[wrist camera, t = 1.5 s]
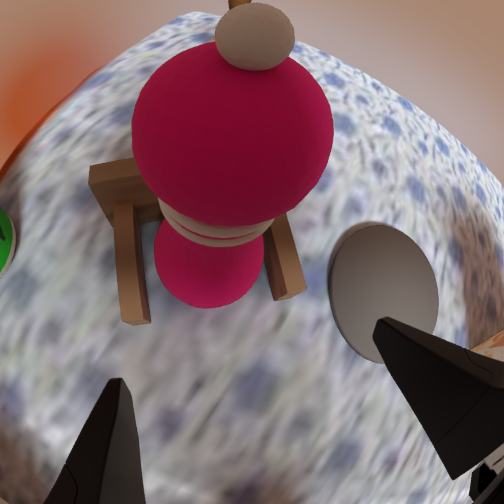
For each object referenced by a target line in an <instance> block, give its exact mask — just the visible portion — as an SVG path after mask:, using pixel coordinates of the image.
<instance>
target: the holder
mask: <svg viewBox="0 0 504 504" xmlns="http://www.w3.org/2000/svg"><path fill="white" fill-rule="evenodd" d="M88 184H89V186H90V188H91V190H92V192H93V194H94V195H95V197H96V199H97V201H98V203H99V205H100V206H101V208H102V210H103V212H104V213H105V215H106V217H107V219H108V220H109V222H110V224H111V225H112V227H114V239H115V258H116V271H117V282H118V292H119V301H120V309H121V316H122V321H123V322H125V323H128V324H131V325H140V324H148V323H151V318H150V312H149V305H148V299H147V291H146V284H145V276H144V267H143V257H142V247H141V234H140V223H143V222H149V221H156V220H163V219H164V218H165V217H164V215H163V213H162V211H161V208H160V205H159V201H158V196H157V195H156V194H155V193H154V192H153V191H152V190H151V189H150V188H149V187H148V186H147V184H146V182H145V180H144V179H143V177H142V175H141V174H140V172H139V169H138V166H137V164H136V161H135V158H129V159H123V160H117V161H112V162H107V163H101V164H96V165H92V166H90V171H89V182H88ZM262 237H263V244H264V261H265V265H266V269H267V273H268V278H269V282H270V286H271V290H272V294H273V299H274V301H278V300H283V299H288V298H292V297H293V296H295V295H297V294H299V293H301V292H303V291H304V290H306V289H307V288H306V284H305V280H304V276H303V273H302V269H301V265H300V261H299V258H298V254H297V250H296V247H295V243H294V240H293V236H292V233H291V229H290V226H289V222H288V219H287V215H286V212H285V213H283V214H282V215H280V216H278V217H276V218H275V219H274V221H273V222H272V224H271V225H270V226H269V227H268V228H267V230H266V231H265V232H264V233H262Z"/></svg>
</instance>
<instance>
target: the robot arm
mask: <svg viewBox="0 0 504 504" xmlns="http://www.w3.org/2000/svg"><path fill="white" fill-rule="evenodd" d="M372 338H373V341H374V343H375V345H376V347H377V349H378V351H379V353H380V355H381V357H382V359H383V361H384V363H385V365H386V367H387V369H388V371H389V373H390V374H391V376H392V377H393V379H394V381H395V382H396V384H397V385H398V387H399V389H400V390H401V392H402V393H403V395H404V397H405V398H406V400H407V402H408V403H409V405H410V407H411V408H412V410H413V412H414V413H415V415H416V417H417V418H418V420H419V422H420V423H421V425H422V427H423V428H424V430H425V432H426V434H427V435H428V437H429V439H430V441H431V442H432V444H433V446H434V448H435V450H436V452H437V453H438V455H439V457H440V459H441V461H442V462H443V464H444V466H445V468H446V470H447V472H448V474H449V476H450V477H451V479H452V480H455V479H456V478H458V477H459V476H461V475H462V474H464V473H465V472H467V471H468V470H470V469H471V468H473V467H474V466H475V465H477V464H478V463H479V462H481V461H482V460H483V461H482V462H481V463H480V464H479V465H478V467H477V468H476V469H475V470H474V471H473V472H472V477H471V484H470V491H469V496H470V497H471V499H472V500H473V501H474V502H473V503H472V504H504V362H503V361H500V360H496V359H493V358H490V357H487V356H484V355H481V354H478V353H476V352H473V351H470V350H468V349H466V348H463V347H461V346H458V345H456V344H453V343H451V342H448V341H446V340H444V339H441V338H439V337H436V336H434V335H432V334H429V333H427V332H424V331H422V330H419V329H417V328H415V327H412V326H410V325H407V324H405V323H403V322H400V321H398V320H395V319H393V318H391V317H388V316H385V317H382V318H380V319H378V320H377V322H376V325H375V328H374V331H373V334H372ZM43 504H146V501H145V494H144V487H143V479H142V470H141V460H140V447H139V438H138V432H137V426H136V421H135V414H134V408H133V401H132V396H131V393H130V391H129V389H128V387H127V385H126V384H125V382H124V380H123V379H122V378H111V379H109V381H108V382H107V384H106V386H105V388H104V389H103V391H102V393H101V395H100V397H99V398H98V400H97V402H96V404H95V406H94V407H93V409H92V411H91V413H90V415H89V417H88V419H87V421H86V422H85V424H84V426H83V428H82V430H81V432H80V434H79V436H78V438H77V440H76V442H75V444H74V446H73V448H72V450H71V452H70V454H69V456H68V458H67V460H66V464H64V466H63V468H62V470H61V472H60V474H59V476H58V478H57V480H56V482H55V484H54V486H53V488H52V490H51V491H50V493H49V495H48V497H47V498H46V500H45V501H44V503H43Z"/></svg>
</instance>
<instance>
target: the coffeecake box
mask: <svg viewBox="0 0 504 504" xmlns="http://www.w3.org/2000/svg"><path fill="white" fill-rule="evenodd" d="M470 351H473V352H476V353H478V354H481V355H484V356H487V357H490V358H493V359H496V360H500V361H503V362H504V329H503V330H502V331H500V332H499V333H497V334H496V335H494V336H493V337H491V338H489V339H488V340H486V341H485V342H483V343H481V344H479V345H478V346H476V347H474V348H473V349H471V350H470Z"/></svg>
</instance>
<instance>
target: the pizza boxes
mask: <svg viewBox="0 0 504 504" xmlns="http://www.w3.org/2000/svg"><path fill="white" fill-rule="evenodd" d="M0 504H9V503H7V502H6V501H5V500H3V499H2V498H1V497H0Z"/></svg>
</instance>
